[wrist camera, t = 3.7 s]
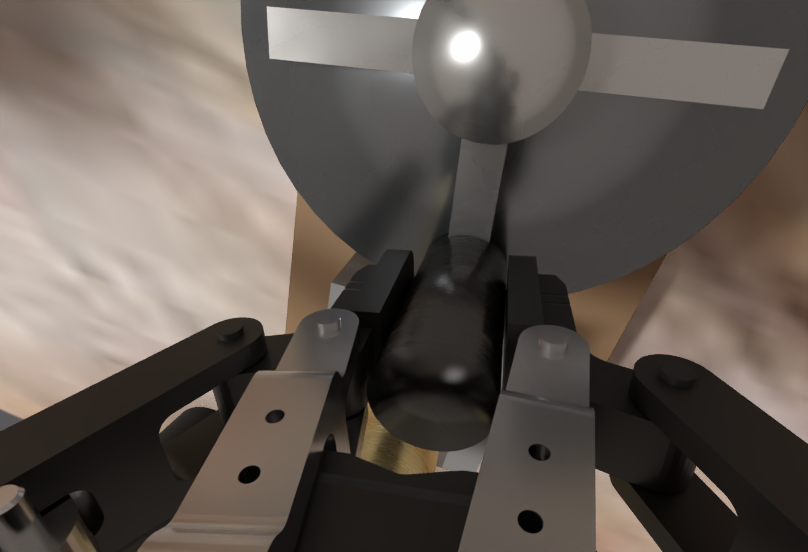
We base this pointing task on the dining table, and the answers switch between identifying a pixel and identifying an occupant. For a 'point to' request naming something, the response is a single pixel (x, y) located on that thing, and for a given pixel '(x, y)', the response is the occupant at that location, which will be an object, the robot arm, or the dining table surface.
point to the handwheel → (514, 153)
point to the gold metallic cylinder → (394, 451)
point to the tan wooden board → (593, 316)
